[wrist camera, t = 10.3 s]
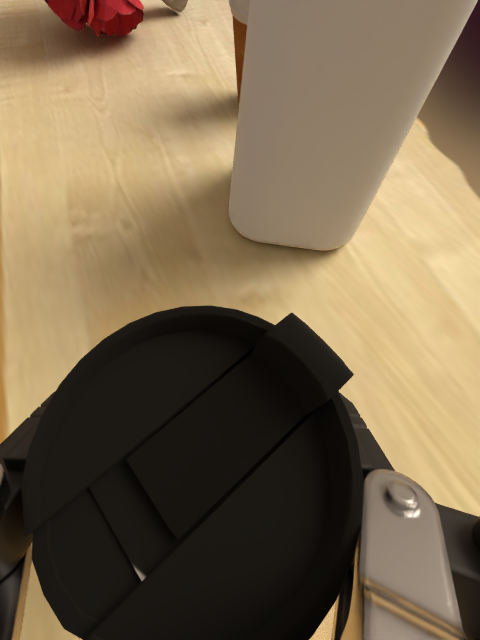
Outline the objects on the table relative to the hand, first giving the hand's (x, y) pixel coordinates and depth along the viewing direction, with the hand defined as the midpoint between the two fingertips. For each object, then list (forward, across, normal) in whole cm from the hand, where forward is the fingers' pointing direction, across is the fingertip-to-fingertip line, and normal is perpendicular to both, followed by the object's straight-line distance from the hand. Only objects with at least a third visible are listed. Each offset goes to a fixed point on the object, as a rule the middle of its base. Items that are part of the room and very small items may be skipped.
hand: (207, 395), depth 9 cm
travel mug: (+10, 0, +12) cm, 16 cm away
